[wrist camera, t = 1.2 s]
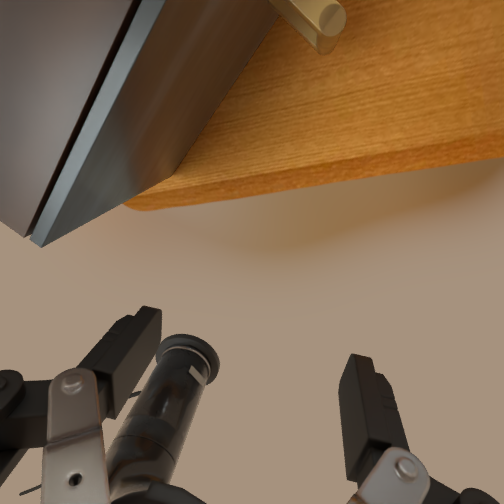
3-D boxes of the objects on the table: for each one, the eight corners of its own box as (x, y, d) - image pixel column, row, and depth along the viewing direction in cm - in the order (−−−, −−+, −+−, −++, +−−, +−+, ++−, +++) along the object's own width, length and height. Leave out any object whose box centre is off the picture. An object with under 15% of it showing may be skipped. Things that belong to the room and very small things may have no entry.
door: (349, 32, 33) (417, -83, 12) (210, 208, 45) (122, 306, 23) (293, -25, 32) (263, -261, 11) (165, 171, 43) (28, 239, 22)
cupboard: (291, -26, 32) (257, -272, 11) (164, 170, 43) (23, 238, 22) (147, -173, 29) (-284, -897, 8) (50, 77, 41) (-238, 52, 19)
